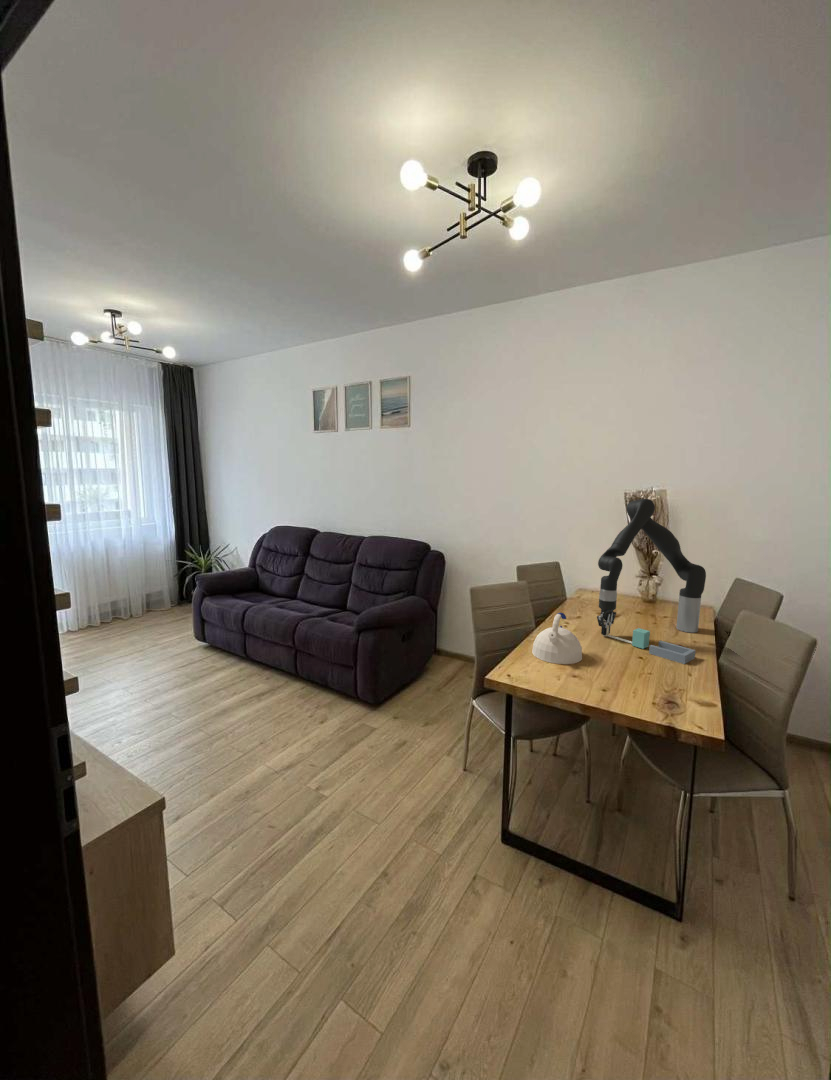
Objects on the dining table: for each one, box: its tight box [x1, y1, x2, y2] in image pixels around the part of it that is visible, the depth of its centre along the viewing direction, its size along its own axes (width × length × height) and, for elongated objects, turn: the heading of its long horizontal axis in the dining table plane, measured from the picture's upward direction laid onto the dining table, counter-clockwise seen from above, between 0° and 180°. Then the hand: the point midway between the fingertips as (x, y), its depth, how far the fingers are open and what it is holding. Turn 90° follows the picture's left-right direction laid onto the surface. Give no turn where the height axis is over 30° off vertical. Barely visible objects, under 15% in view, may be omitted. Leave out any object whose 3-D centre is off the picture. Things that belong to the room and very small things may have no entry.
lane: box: [648, 640, 696, 665], centre depth 188 cm, size 10×14×4 cm
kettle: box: [531, 612, 583, 665], centre depth 187 cm, size 20×21×18 cm
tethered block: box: [602, 625, 651, 650], centre depth 204 cm, size 5×20×7 cm, turn 37°
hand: (605, 633), depth 211 cm, fingers closed on tethered block, 2 cm apart
